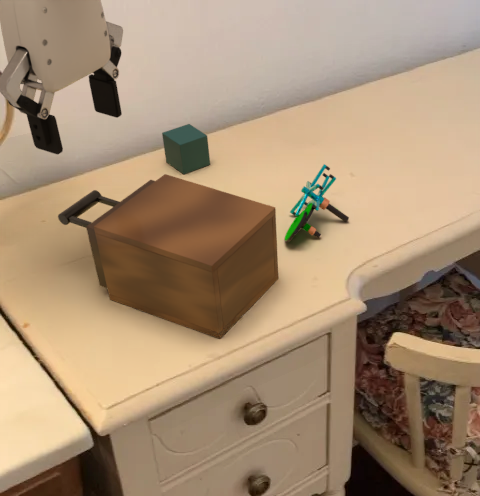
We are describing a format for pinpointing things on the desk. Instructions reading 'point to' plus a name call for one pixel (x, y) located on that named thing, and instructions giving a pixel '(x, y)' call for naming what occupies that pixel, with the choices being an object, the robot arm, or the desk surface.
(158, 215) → the cabinet
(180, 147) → the block
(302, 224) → the stick construction toy
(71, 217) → the drawer
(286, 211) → the desk surface
